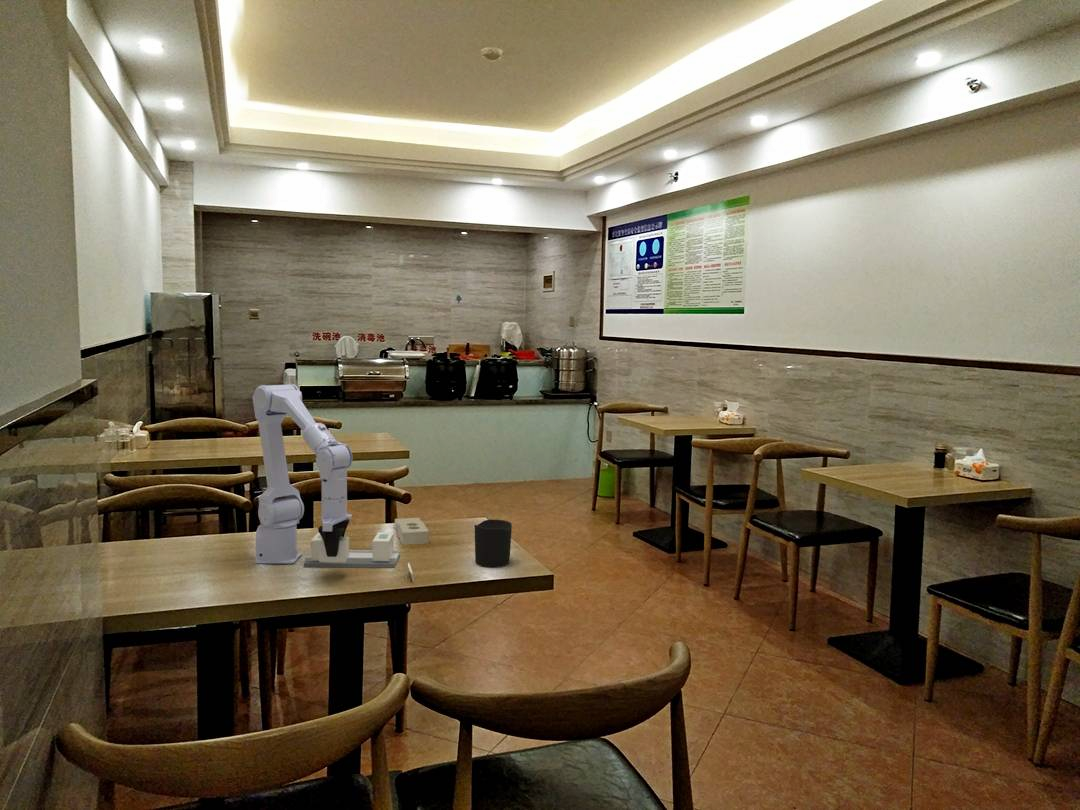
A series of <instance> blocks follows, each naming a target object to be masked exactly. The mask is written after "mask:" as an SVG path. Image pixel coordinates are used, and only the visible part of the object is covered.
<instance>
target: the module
mask: <svg viewBox="0 0 1080 810" xmlns="http://www.w3.org/2000/svg"><path fill="white" fill-rule="evenodd" d="M349 550H350V536H344V537H340V541H339V548H338V553H337V556H336V557H327V554H326V550H325V545H324V542H323V539H321V540H320V541H319V562H346V561H347V559H348V558H349Z"/></svg>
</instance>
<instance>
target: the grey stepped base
mask: <svg viewBox="0 0 1080 810" xmlns="http://www.w3.org/2000/svg"><path fill="white" fill-rule="evenodd" d="M394 536H395V532H389V531H388V532H384V531H383V532H380V531H378V532H377V533H376V535H375V536H374V538H373V540H372V549H349V558H348V559H347V561H346V562H319V541H320V540H321V539H322V537H321V535H320V533H319V531H317V533H316V535H314V536H313V537H312V538H311V540H310V554H309V555H308V556H306V557H305V561H304V562H303V568H346V569H348V568H349V569H351V568H352V569H353V568H354V569H355V568H357V569H358V568H360V569H361V568H362V569H363V568H366V569H367V568H368V569H371V568H372V569H375V568H376V569H377V568H378V569H395V568H396V566H397V563H398V561H399V559H400V556H401V551H400V550H396V549H395V545H394V543H395V542H394V540H395V537H394Z"/></svg>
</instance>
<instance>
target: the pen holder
mask: <svg viewBox="0 0 1080 810" xmlns="http://www.w3.org/2000/svg"><path fill="white" fill-rule="evenodd" d="M512 527H513V525H512V523H511V522H510V521H507V520H503V519H485V520H483V521H481V522H480V523H478V524H474V556H475V558H474V559H475V560H474V561H475V563H476V564H477V565H478V566H480V567H484V568H501V567H505V566H508V564H509V563H510V559H511V547H512V546H511V542H512Z"/></svg>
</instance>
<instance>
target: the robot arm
mask: <svg viewBox="0 0 1080 810" xmlns="http://www.w3.org/2000/svg"><path fill="white" fill-rule="evenodd" d="M252 404H253V409H254V417H255V419H256V420H257V423H258V431H259V437H260V438H259V439H260V442H261V443H260V445H261V450H262V457H263V465H264V472H265V478H266V485H267V486H266V487H267V488H266V490H264V491H262V494H260V495H259V497H258V509H257V510H258V511H257V514H258V519H259V521H260V523H261V524H259V525H258V526H257V529H256V532H255V561H254V563H255V564H273V565H274V564H277V565H278V564H285V565H287V564H288V565H289V564H295V562H296V561H297V560H298V559H299V558H300V557H301V556H302V555H303V553H302V552H298V541H297V539H298V538H297V535H298V533H297V532H298V530H297V527H298V526H297V525H298V524H300V520H301V519H302V518H303V516H304V513H305V505H304V502H303V501H302V499H301V498H302V497H301V495H300V491H299V489H297V488H296V487H294V486H292V485H291V483H290V477H289V471H288V463H287V458H286V449H285V444H284V443H285V442H284V436H283V428H282V422H283V420H284V419H285V418H287V417H289V418H290V419H291V420H292V421H293V422H294V423H295V424H296V425H297V426H298V427H299V428H300V429H301V431H303V433H302V440H304V442H305V443H306V445H308V447H309V448H310V450H311V451H312V452H313V454H314V455H315V456H316V457H315V463H316V466H317V468H318V473H319V474H318V476H319V478H320V479H321V514H320V520H321V523H322V525H320V526H318V528H317V532H319V533H320V535H321V537H322V539H323V542H324V545H325V550H326V554H327V557H336V556H337V553H338V548H339V541H340V537H345V534H346V530H347V528H348V526H349V524H350V520H351V519H352V518H353V514H352V513H351V514H349V513H348V468H350V466H351V465H352V463H353V453H352V450H351V448H350V447H349V445H348V444H346V443H341V441H338V440H336V438H335V436H334V435H333V434H332V433H331V431H329V429H328V428H327V426H326V425H325V424H324V423H322V422H316V420H314V418H313V416H312V415H311V413H310V411H309V410H308V409H307V407H306V405H305V404H304V403H303V394H302V391H300V389H299V387H298V386H297V385H296V384H294V383H288V384H273V385H271V384H270V385H263V384H261V385H259V386H257V387H256V389H255V391H254V392H253V394H252ZM277 498H278V499H277Z"/></svg>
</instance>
